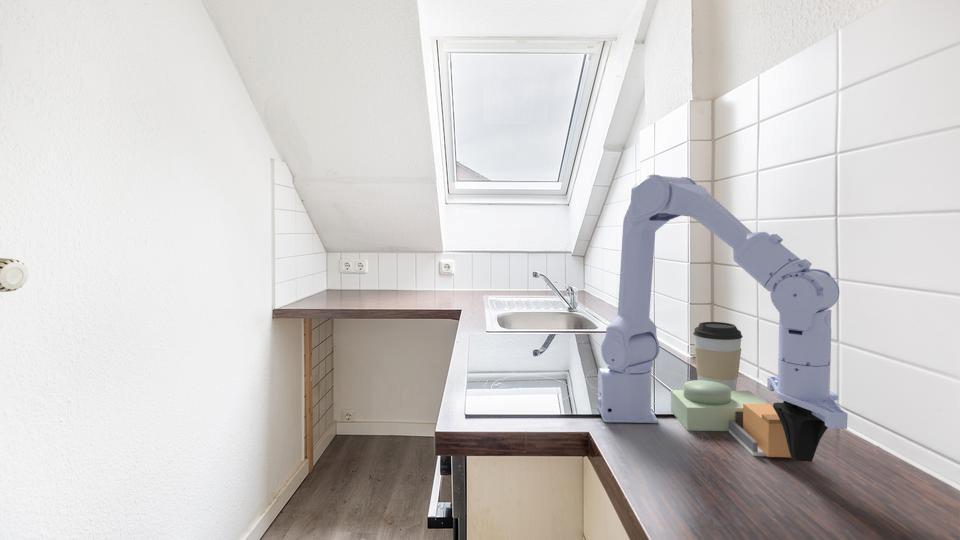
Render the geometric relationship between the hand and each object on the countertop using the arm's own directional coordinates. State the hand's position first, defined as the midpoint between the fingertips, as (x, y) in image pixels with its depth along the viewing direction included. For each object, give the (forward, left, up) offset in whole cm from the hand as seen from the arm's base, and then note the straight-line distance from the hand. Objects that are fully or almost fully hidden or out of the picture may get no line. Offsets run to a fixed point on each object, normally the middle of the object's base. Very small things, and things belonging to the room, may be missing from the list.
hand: (801, 459), depth 63 cm
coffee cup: (+2, +33, -3) cm, 34 cm away
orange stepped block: (0, +9, -2) cm, 9 cm away
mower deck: (-3, +15, -3) cm, 15 cm away
